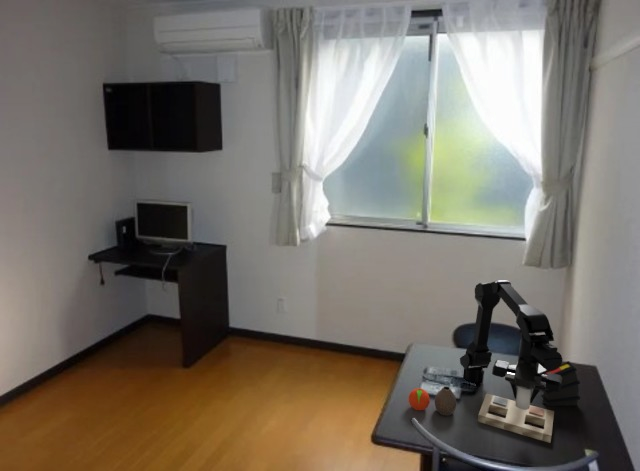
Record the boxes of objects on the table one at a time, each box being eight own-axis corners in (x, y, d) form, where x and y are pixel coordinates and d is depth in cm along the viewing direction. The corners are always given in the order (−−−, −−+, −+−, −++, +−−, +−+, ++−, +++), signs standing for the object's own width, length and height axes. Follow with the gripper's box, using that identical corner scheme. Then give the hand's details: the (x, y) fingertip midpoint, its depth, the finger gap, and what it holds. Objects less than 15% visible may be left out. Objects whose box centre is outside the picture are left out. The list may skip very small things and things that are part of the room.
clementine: (428, 418, 153) (430, 398, 152) (406, 414, 155) (408, 395, 153) (429, 404, 161) (430, 385, 159) (408, 401, 162) (409, 382, 161)
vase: (456, 408, 159) (458, 384, 157) (454, 420, 152) (457, 395, 150) (435, 404, 161) (437, 380, 159) (432, 415, 155) (434, 391, 153)
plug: (512, 407, 144) (515, 383, 142) (515, 399, 148) (518, 375, 146) (529, 412, 142) (533, 387, 140) (531, 404, 146) (535, 380, 144)
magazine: (588, 401, 161) (575, 365, 157) (551, 417, 162) (537, 381, 158) (582, 395, 164) (569, 360, 161) (546, 410, 165) (532, 375, 162)
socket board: (477, 421, 152) (478, 413, 151) (485, 399, 164) (486, 392, 163) (550, 443, 142) (551, 434, 141) (553, 418, 154) (554, 410, 153)
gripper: (491, 356, 139) (485, 404, 142) (562, 374, 130) (554, 424, 133) (498, 341, 148) (493, 386, 152) (565, 357, 139) (558, 404, 143)
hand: (523, 400), depth 145 cm, fingers closed on plug, 4 cm apart
